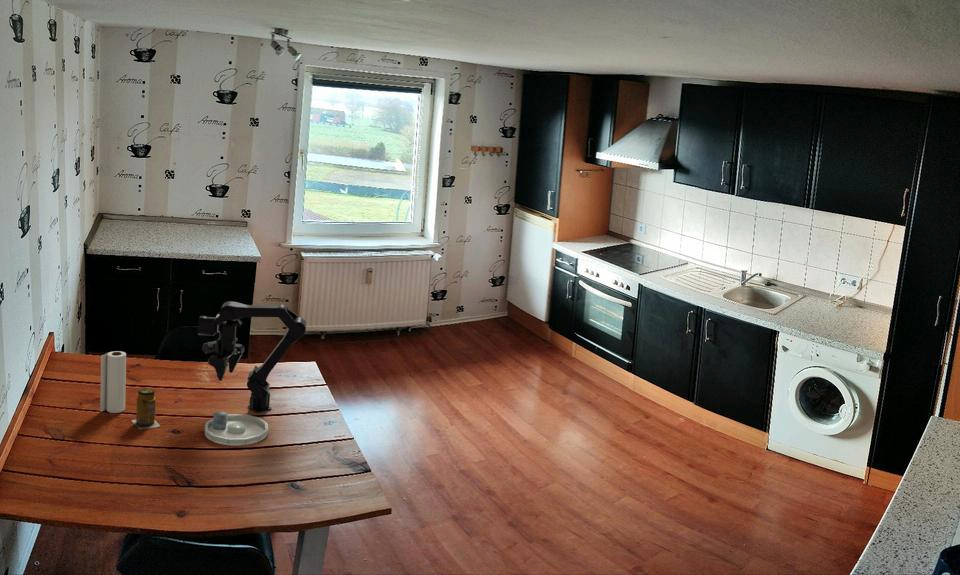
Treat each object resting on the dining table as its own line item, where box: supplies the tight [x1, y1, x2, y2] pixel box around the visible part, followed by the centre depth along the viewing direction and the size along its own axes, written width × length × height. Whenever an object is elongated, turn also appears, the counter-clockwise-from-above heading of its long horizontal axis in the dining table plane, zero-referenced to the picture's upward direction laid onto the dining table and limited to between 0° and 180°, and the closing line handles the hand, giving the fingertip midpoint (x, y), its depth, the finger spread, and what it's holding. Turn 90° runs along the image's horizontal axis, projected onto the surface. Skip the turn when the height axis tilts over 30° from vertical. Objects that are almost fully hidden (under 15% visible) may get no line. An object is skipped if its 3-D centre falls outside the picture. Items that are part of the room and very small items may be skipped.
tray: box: [204, 413, 269, 447], centre depth 290 cm, size 21×21×2 cm
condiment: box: [131, 387, 161, 430], centre depth 287 cm, size 7×8×12 cm
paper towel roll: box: [99, 350, 127, 414], centre depth 293 cm, size 7×6×21 cm
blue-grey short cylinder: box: [212, 411, 228, 430], centre depth 290 cm, size 4×4×5 cm
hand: (225, 376), depth 307 cm, fingers open, 9 cm apart
